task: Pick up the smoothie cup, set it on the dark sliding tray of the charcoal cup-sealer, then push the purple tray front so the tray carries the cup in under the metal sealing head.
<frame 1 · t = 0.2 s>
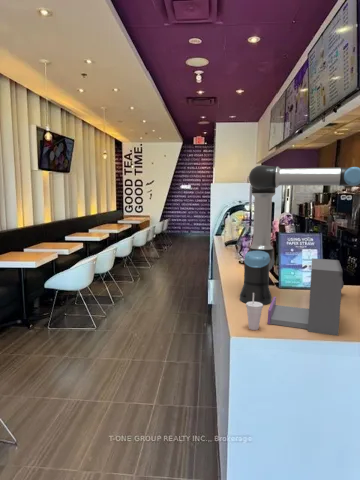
sealer tray: (290, 311, 144), point 3 cm above the table, slide at 8.0 cm
sealer: (309, 321, 142), on the table
bluetooth speaker: (327, 298, 174), on the table
smoothie: (253, 328, 134), on the table
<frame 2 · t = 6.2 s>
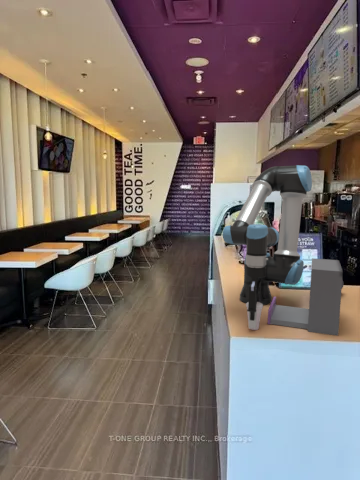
hand: (253, 324, 134), 1 cm above the table, fingers closed on smoothie, 6 cm apart
smoothie: (253, 328, 134), on the table, touching gripper
everything else where it was.
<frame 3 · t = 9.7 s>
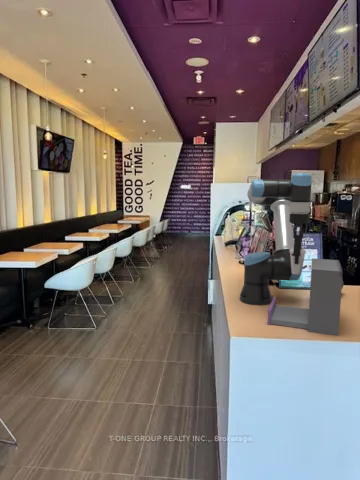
hand: (296, 270, 141), 21 cm above the table, fingers closed on smoothie, 6 cm apart
smoothie: (296, 273, 141), point 19 cm above the table, touching gripper
everything else where it was.
when the fingers open (5 cm above the table, at t = 13.0 s): smoothie drops 1 cm, resting on sealer tray.
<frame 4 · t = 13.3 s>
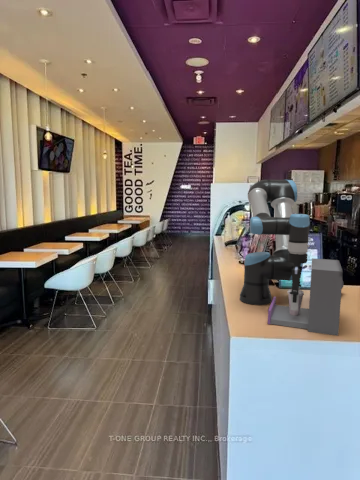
hand: (294, 305, 143), 6 cm above the table, fingers open, 10 cm apart
sealer tray: (290, 311, 144), point 3 cm above the table, slide at 8.0 cm, touching smoothie
smoothie: (294, 314, 144), point 2 cm above the table, touching sealer tray
everything else where it was.
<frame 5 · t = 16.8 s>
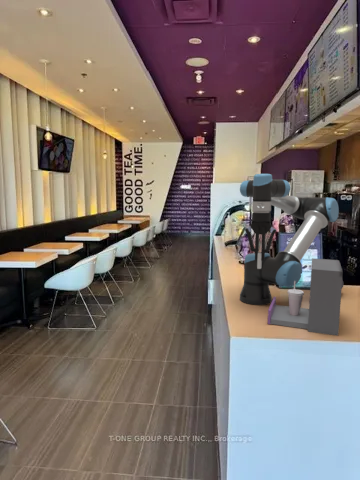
hand: (259, 268, 146), 20 cm above the table, fingers closed
nothing on the table moved.
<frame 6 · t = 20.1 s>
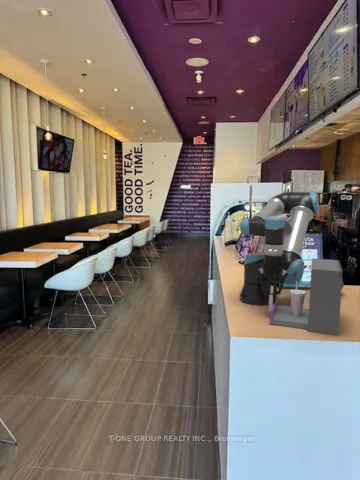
hand: (270, 309, 147), 3 cm above the table, fingers closed
sealer tray: (292, 312, 144), point 3 cm above the table, slide at 7.2 cm, touching gripper, smoothie
everything else where it was.
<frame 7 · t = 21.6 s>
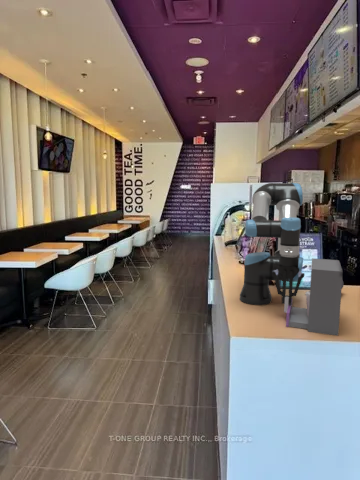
hand: (286, 311, 144), 3 cm above the table, fingers closed
sealer tray: (308, 313, 142), point 3 cm above the table, slide at 1.0 cm, touching gripper, smoothie
smoothie: (312, 316, 141), point 2 cm above the table, touching sealer tray
everything else where it was.
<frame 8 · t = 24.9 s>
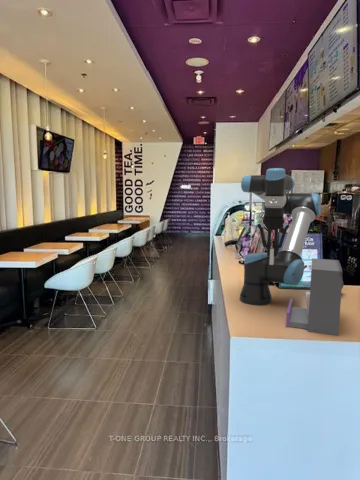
hand: (271, 264, 144), 22 cm above the table, fingers closed
sealer tray: (308, 313, 142), point 3 cm above the table, slide at 1.0 cm, touching smoothie
everything else where it was.
at the end: sealer tray slide at 1.0 cm; smoothie inside the target area on the sealer (1.5 cm from its centre), point 2.0 cm above the sealer's base; smoothie tilted 0° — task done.
